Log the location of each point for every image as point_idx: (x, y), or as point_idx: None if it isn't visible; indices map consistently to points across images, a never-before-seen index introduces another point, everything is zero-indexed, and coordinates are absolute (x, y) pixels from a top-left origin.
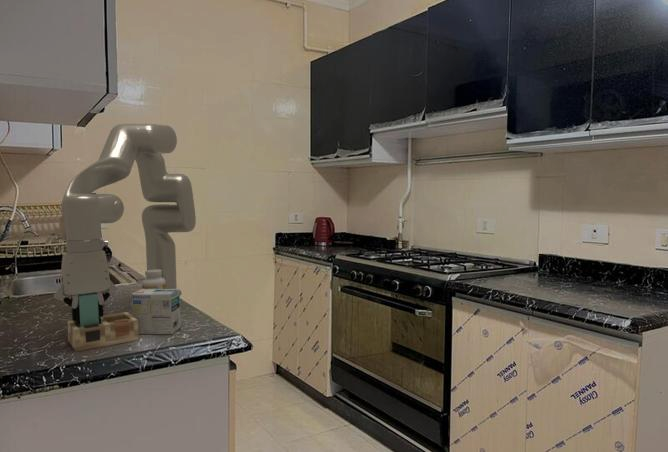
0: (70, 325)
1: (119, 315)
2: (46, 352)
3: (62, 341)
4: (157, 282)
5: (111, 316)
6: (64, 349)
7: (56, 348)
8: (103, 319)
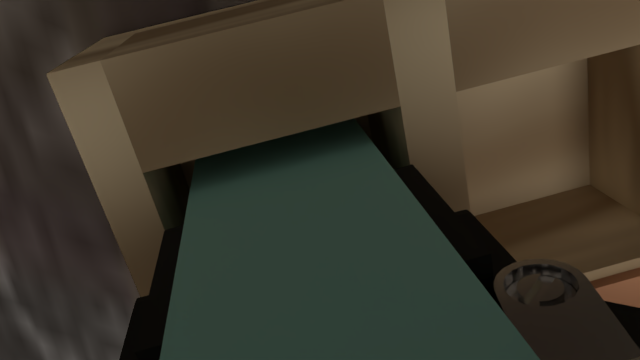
0: (130, 266)
1: (634, 43)
2: (4, 285)
3: (52, 31)
4: None
5: (549, 67)
6: (123, 260)
7: (54, 217)
8: (456, 173)
